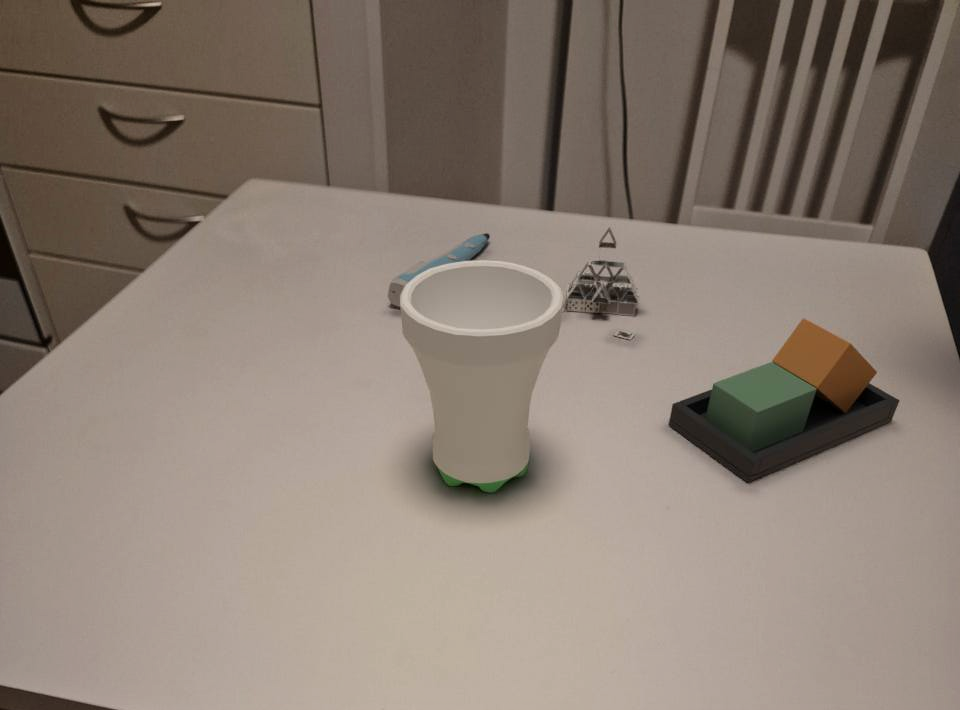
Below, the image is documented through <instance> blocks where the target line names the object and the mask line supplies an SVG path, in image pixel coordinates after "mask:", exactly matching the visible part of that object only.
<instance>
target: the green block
mask: <svg viewBox="0 0 960 710" xmlns="http://www.w3.org/2000/svg"><path fill="white" fill-rule="evenodd" d="M711 387H712V388H711V389H712V392H711V396H710V401H709V405H708V410H707V414H706V420H707V421H708V422H710V423H711V424H713V425H714V426H716V427H717V428H718V429H720V430H721V431H723V432H724V433H726V434H727V435H728V436H730V437H731V438H733V439H734V440H736V441H737V442H739V443H740V444H741V445H743V446H744V447H746V448H747V449H749V450H750V451H751V452H755V451H758V450H760V449H762V448H765V447H767V446H769V445H772V444H774V443H777V442H779V441H781V440H784V439H786V438H789V437H791V436H793V435H796V434H798V433H801V432H803V430H804V427H805V424H806V421H807V418H808V415H809V411H810V408H811V405H812V402H813V399H814V396H815V393H816V390H817V389H816V388H815V387H813V386H811V385H810V384H808V383H806V382H805V381H803V380H801V379H800V378H798V377H796V376H795V375H793V374H791V373H790V372H788V371H786V370H784V369H783V368H781V367H779V366H778V365H776V364H774V363H773V362H772V361H770V362H767V363H765V364H762V365H760V366H757V367H754V368H751V369H748V370H746V371H743V372H740V373H738V374H734V375H731V376H729V377H726V378H724V379H721V380H719V381H716V382H714V383H712V386H711Z"/></svg>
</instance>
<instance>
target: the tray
mask: <svg viewBox="0 0 960 710" xmlns="http://www.w3.org/2000/svg"><path fill="white" fill-rule="evenodd" d="M711 392H712V388H711V389H709V390H706V391H703V392H701V393H698V394H695V395H693V396H690V397H687V398H685V399H683V400H680V401H677V402H673V403H672V404H671V409H670V410H671V411H670V416H669V420H668V426H669V428H672V429H673V430H674V431H676V432H677V433H679V434H680V435H681V436H683V437H684V438H685V439H686V440H688V441H689V442H690V443H692V444H693V445H695V446H696V447H698V448H699V449H700V450H702V451H703V452H704V453H706V454H707V455H708V456H710V458H713V459H714V460H715V461H716V462H718V463H720V464H721V465H722V466H724V467H725V468H726V469H728V470H729V471H731V472H732V473H733V474H735V475H736V476H737V477H738V478H740V479H741V480H743V481H744V482H746V484H750V483H752V482H754V481H756V480H759V479H761V478H763V477H766V476H768V475H770V474H773V473H775V472H777V471H780V470H782V469H785V468H787V467H789V466H791V465H794V464H796V463H798V462H801V461H803V460H806V459H808V458H810V457H813V456H815V455H817V454H819V453H822V452H824V451H826V450H827V451H828V450H829V449H832V448H834V447H837V446H838V445H840V444H843V443H845V442H847V441H850V440H853V439H854V438H857V437H859V436H862V435H864V434H867V433H868V432H871V431H873V430H876V429H878V428H880V427H883V426H885V425H887V424H889V423H892V421H893V418H894V416H895V413H896V411H897V409H898V406H899V403H900V399H898V398H896V397H894V396H893V395H891V394H889V393H888V392H886V391H884V390H882V389H881V388H879V387H877V386H875V385H874V384H872V383H871V382H869V384H868V385H867V386H866V388H865V389H864V390H863V391H862V393H861V394H860V395H859V397H858V398H857V399H856V400H855V402H854V403H853V404H852V406H851V407H850V408H849V410H848V411H847V412H846V413H844V412H842V411H840V410H839V409H837V408H835V407H834V406H832V405H830V404H829V403H827V402H825V401H824V400H822V399H820V398H819V397H817V396H814V399H813V402H812V405H811V408H810V411H809V415H808V418H807V421H806V424H805V427H804V430H803V432H801V433H798V434H796V435H793V436H791V437H789V438H786V439H784V440H781V441H779V442H777V443H774V444H772V445H769V446H767V447H765V448H762V449H760V450H758V451H755V452H751V451H750V450H749V449H747V448H746V447H744V446H743V445H741V444H740V443H739V442H737V441H736V440H734V439H733V438H731V437H730V436H728V435H727V434H726V433H724V432H723V431H721V430H720V429H718V428H717V427H716V426H714V425H713V424H711V423H710V422H708V421H707V420H706V414H707V410H708V405H709V401H710V396H711Z"/></svg>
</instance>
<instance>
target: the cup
mask: <svg viewBox="0 0 960 710" xmlns="http://www.w3.org/2000/svg"><path fill="white" fill-rule="evenodd" d="M563 304H564V295H563V292H562V288H561V287H560V286H559V285H558V284H557V283H556V282H555V281H554V280H553V279H551V278H550V277H549V276H547V275H545V274H543V273H542V272H540V271H538V270H537V269H534V268H531V267H528V266H525V265H522V264H519V263H514V262H508V261H504V260H486V259H483V260H482V259H481V260H480V259H479V260H468V261H462V262H455V263H449V264H444V265H441V266H437V267H433V268H430V269H428V270H426V271H424V272H422V273H420V274H419V275H417V276H416V277H414V278H413V279H412V280H411V281H410V282H409V283H407V284H406V285H405V287H404V289H403V291H402V293H401V295H400V307H399V309H400V319H401V329H402V335H403V338H404V339H405V340H406V342H407V343H408V344H409V345H410V347H411V349H412V350H413V352H414V354H415V356H416V359H417V361H418V363H419V366H420V368H421V371H422V374H423V377H424V380H425V383H426V386H427V388H428V391H429V395H430V396H429V397H430V401H431V407H432V412H433V422H434V431H433V433H432V437H431V438H432V439H431V440H432V461H433V462H434V464H435V466H436V468H437V470H438V472H439V473H440V476H441V477H442V479H443V480H444V483H445V484H447V485H448V486H449V487H451V486H452V487H457V486H460V485H462V484H464V483H465V484H469V485H473V486H477V487H478V488H479V489H480V490H481V491H482V492H485V493H487V494H491V493H496V492H497V491H498V490H499V489H501V488H502V486H503V485H504V484H505V483H507V482H508V481H509V480H511V479H512V478H520V477H523V476H525V474H526V473H527V470H528V467H529V462H530V455H531V454H530V453H531V436H530V430H529V427H528V425H529V416H530V406H531V401H532V396H533V391H534V389H535V386H536V383H537V380H538V377H539V374H540V371H541V369H542V366H543V364H544V361H545V360H546V357H547V355H548V353H549V350H550V349H551V348H552V347H553V345H554V344H555V343H556V342H557V341H558V339H559V335H560V330H561V326H562V316H563V315H562V314H563V312H562V308H563Z"/></svg>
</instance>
